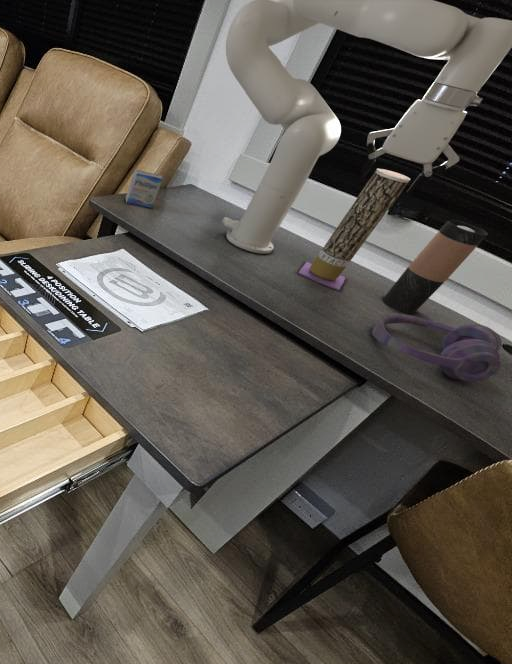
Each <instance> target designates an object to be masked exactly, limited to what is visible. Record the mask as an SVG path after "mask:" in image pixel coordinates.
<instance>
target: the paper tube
mask: <svg viewBox="0 0 512 664" xmlns="http://www.w3.org/2000/svg"><path fill="white" fill-rule="evenodd" d="M410 181H411V178H410V177H408V176H406V175H404V174H402V173H399V172H396V171H392V170H388V169H384V168H376V170H375V171H374V172H373V174H372V176H371V177H370V178H369V180H368V181H367V183H366V184H365V186H364V187H363V189H362V190H361V192H360V193H359V194H358V196H357V197H356V199H355V201H353V203H352V205H351V206H350V208H349V209H348V211H347V212H346V214H345V215H344V216H343V218H342V219H341V221H340V222H339V224H337V225H338V226H337V227H336V228H335V230H334V231H333V232H332V234H331V236H330V237H329V238H328V240H327V241H326V243H325V244H324V246H323V248H322V249H321V250H320V252H319V253H318V255H317V256H316V258H315V259H314V261H313V262H312V263H311V264H312V265H311V267H310V271H311V272H312V273H313V274H314V275H316V276H318V277H320V278H322V279H325V280H335V279H337V278H338V277H339V275H341V274H342V273H343V272H344V270H345V269H346V268H347V266H348V265H349V264H350V262H351V261H352V260H353V258H354V257H355V256H356V254H357V253H358V252H359V250H360V249H361V247H363V245H364V243H365V242H366V240H368V238H369V237H370V236H371V234H372V232H374V230H375V229H376V228H377V226H378V224H379V223H380V222H381V221H382V219H383V218H384V217H385V215H386V214H387V213H388V211H389V210H390V208H391V207H392V206H393V204H394V203H395V201H397V199H398V197H399V196H400V195H401V193H402V192H403V191H404V190H405V189H406V186H408V184H409V183H410Z"/></svg>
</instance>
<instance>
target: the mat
mask: <svg viewBox="0 0 512 664" xmlns="http://www.w3.org/2000/svg"><path fill="white" fill-rule="evenodd" d="M312 264H313V263H311V262H309V261H306V262H305V263H304V264H303V265H302V267H301V269H299V271H298V273H297V275H300V276H302V277H305V278H307V279H309V280H311V281H313V282H316V283H318V284H321V285H324V286H326V287H328V288H330V289H333V290H335V291H338V292H340V290H341V288H342V286H343V284H344V282H345V280H346V277H345V276H343V275H341V274H340V275H339V277H338V278H337V279H335V280H325V279H322V278H320V277H318V276H316V275H314V274H313V273H312V272H311V271H310V267H311V265H312Z"/></svg>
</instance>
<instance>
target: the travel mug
mask: <svg viewBox="0 0 512 664" xmlns="http://www.w3.org/2000/svg"><path fill="white" fill-rule="evenodd" d="M487 236H488V232H487V231H485V229H482V228H481V227H478V226H476V225H474V224H471V223H467V222H465V221H461V220H456V219H451V220H448V221H446V222H445V223H444V224H443V225H442V226H441V228H439V230H438V232H437V233H435V235H434V236H433V237H432V238H431V239H430V240H429V242H428V243H427V244H426V245H425V246H424V247H423V248H422V250H421V251H420V253H418V255H417V256H416V257H415V258H414V259H413V260H412V261H411V263H410V264H409V265H408V267H406V269H405V270H404V271H403V273H402V274H401V275H400V276H399V277H398V279H397V280H396V281H395V283H394V284H393V285H392V287H390V289H389V290H388V292H387V293H386V294H385V296H384V297H383V302H384V303H385V304H386V305H388V306H389V307H391V308H393V309H395V310H397V311H400V312H403V313H406V314H415V312H417V311H418V310H420V308H421V307H422V306H423V305H424V304H425V303H426V302H427V301H428V300H429V299H430V298H431V297H432V296H433V295H434V293H436V291H438V289H439V288H441V286H443V284H444V283H445V282H446V281H447V280H448V279H449V278H450V277H451V276H452V275H453V274H454V272H455V271H456V270H457V269H458V268H459V267H460V266H461V265H462V264H463V263H464V261H466V259H468V257H469V256H470V255H471V254H472V253H473V251H474V250H475V249H477V247H478V246H479V245H480V244H481V243H482V242H483V240H484V239H485V238H487Z"/></svg>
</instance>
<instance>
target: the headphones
mask: <svg viewBox="0 0 512 664" xmlns="http://www.w3.org/2000/svg"><path fill="white" fill-rule="evenodd" d="M390 324H391V325H392V324H409V325H414V326H415V325H416V326H421V327H425V328H426V329H428V330H429V329H430V330H433V331H435V332H439V333H441V334H444V335H445V336H444V338H443V340H442V349H443V350H442V351H441V353H440V354H436V353H432V352H429V351H427V350H423V349H420V350H418V349H416V348H414V347H411V346H410V345H408V344H406V343H404V342H402V341H400V340H398V339H397V338H395V337H394V336H393V335H392V334H390V333H389V332H388V331H387V330H386V327H385V326H386V325H390ZM371 335H372V336H373V338H374V339H375V340H376V341H378V342H379V343H381V344H383V345H384V346H386V347H388V348H390V349H393V350H395V351H397V352H400V353H402V354H405V355H407V356H410V357H414V358H415V359H418V360H420V361H424V362H427V363H430V364H432V365H433V364H434V365H437V366H438V368H439V369H440V371H441V372H443V374H445V375H446V376H448V377H449V378H451V379H453V380H456V381H462V382H466V383H477V382H482V381H486V380H487V379H489V378H491V377H493V376H494V375H496V373H498V371H499V370H500V368H501V365H502V364H501V359H500V358H501V357H500V353H499V351H500V349H501V347H502V339H501V337H500V335H499V334H498V333H497V332H496V331H495V330H493V329H492V328H491V327H489V326H486V325H483V324H475V323H474V324H464V325H460V326H456V327H453V326H450V325H448V324H444V323H441V322H438V321H435V320H428V319H425V318H422V317H417V316H415V315H410V314H409V315H408V314H404V313H391V312H390V313H389V312H387V313H384V314H382V315H380V317H379V318H378V320H377V321H376V323H375V325H374V327H373V328H372V330H371Z"/></svg>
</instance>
